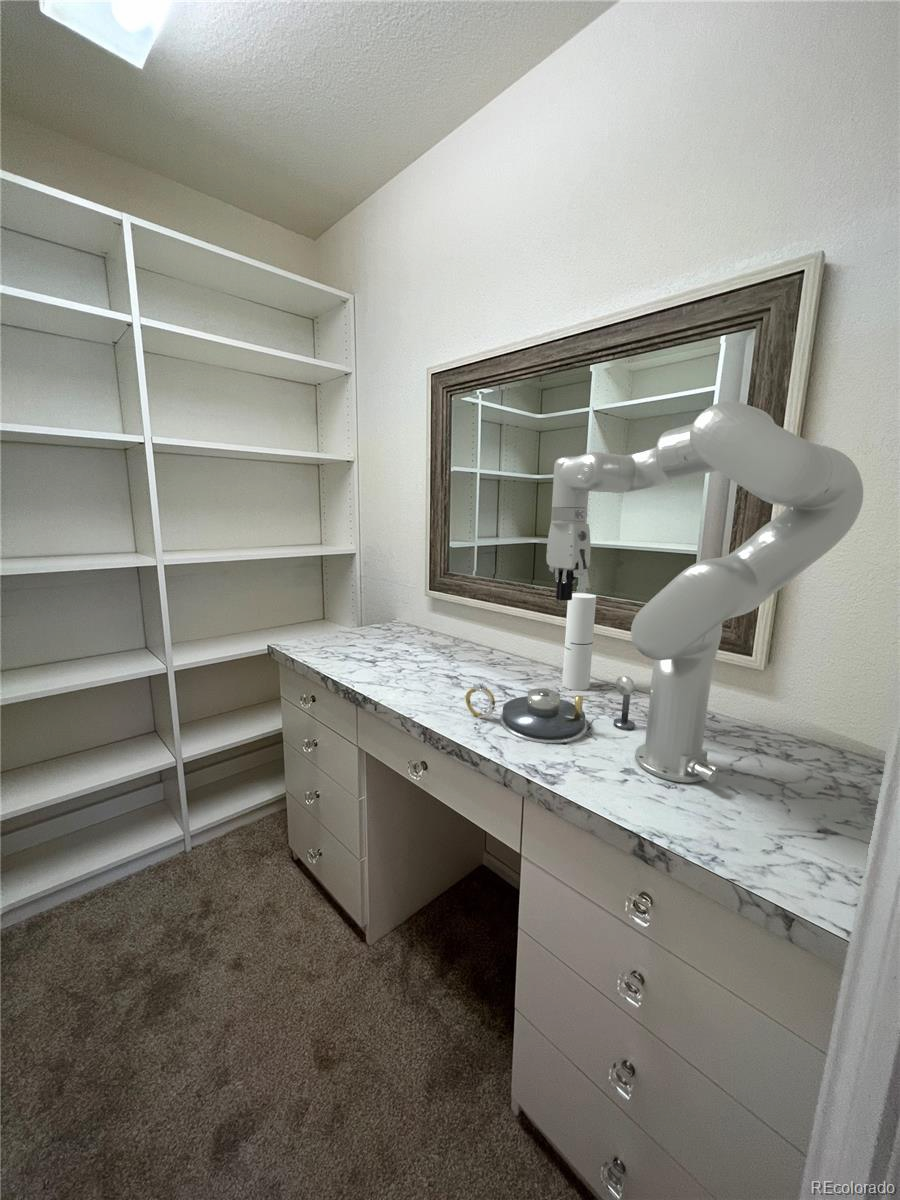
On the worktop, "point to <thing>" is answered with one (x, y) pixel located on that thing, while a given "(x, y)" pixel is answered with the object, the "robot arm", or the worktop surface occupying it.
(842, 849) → the worktop surface
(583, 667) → the cylindrical container
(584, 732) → the base
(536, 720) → the turntable
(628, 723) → the ball topped stand
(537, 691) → the cover
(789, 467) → the robot arm
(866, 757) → the worktop surface
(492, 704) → the bracelet
